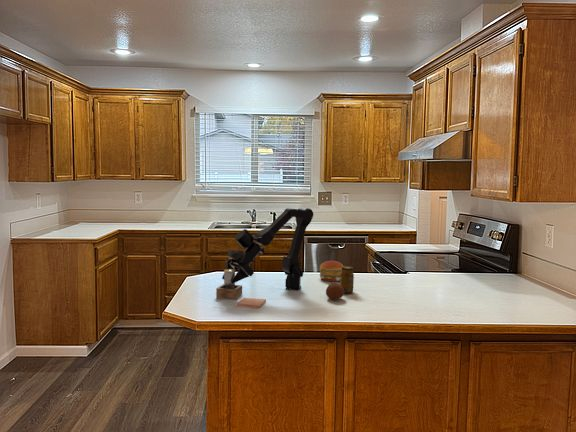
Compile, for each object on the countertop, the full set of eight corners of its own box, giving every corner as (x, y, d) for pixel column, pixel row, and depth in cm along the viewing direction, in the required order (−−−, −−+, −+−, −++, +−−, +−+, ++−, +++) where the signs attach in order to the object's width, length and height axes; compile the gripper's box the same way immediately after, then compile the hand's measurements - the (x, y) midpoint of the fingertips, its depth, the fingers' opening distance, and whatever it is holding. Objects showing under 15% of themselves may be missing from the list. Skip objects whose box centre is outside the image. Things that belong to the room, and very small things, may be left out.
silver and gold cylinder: (236, 289, 237) (236, 269, 236) (232, 291, 233) (232, 271, 232) (226, 288, 238) (226, 268, 238) (222, 291, 234) (222, 271, 233)
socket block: (242, 295, 239) (242, 285, 239) (235, 299, 230) (235, 289, 230) (223, 293, 241) (223, 283, 241) (216, 298, 232) (216, 288, 232)
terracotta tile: (265, 302, 228) (265, 299, 228) (259, 308, 218) (259, 305, 218) (243, 300, 230) (243, 297, 230) (236, 306, 220) (236, 303, 220)
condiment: (350, 290, 252) (350, 265, 251) (358, 294, 244) (359, 269, 243) (336, 291, 250) (336, 266, 248) (344, 295, 242) (344, 269, 240)
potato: (340, 295, 241) (341, 279, 240) (347, 301, 231) (347, 285, 230) (322, 296, 240) (323, 280, 239) (328, 302, 229) (329, 285, 228)
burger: (314, 278, 278) (315, 259, 277) (337, 276, 283) (337, 257, 282) (326, 283, 266) (326, 263, 265) (349, 281, 271) (350, 262, 270)
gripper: (229, 240, 244) (206, 265, 239) (248, 245, 228) (224, 273, 223) (244, 255, 248) (222, 281, 244) (263, 262, 233) (240, 289, 228)
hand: (227, 280), depth 234 cm, fingers open, 9 cm apart
